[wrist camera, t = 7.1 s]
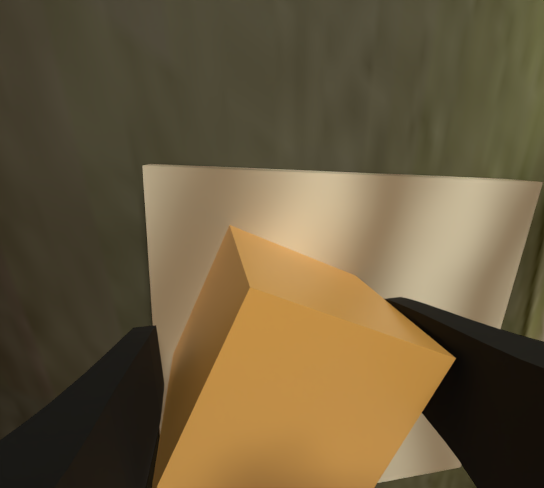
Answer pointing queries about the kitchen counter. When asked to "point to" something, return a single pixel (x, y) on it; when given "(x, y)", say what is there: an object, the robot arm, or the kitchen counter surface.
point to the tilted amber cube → (291, 376)
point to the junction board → (344, 246)
